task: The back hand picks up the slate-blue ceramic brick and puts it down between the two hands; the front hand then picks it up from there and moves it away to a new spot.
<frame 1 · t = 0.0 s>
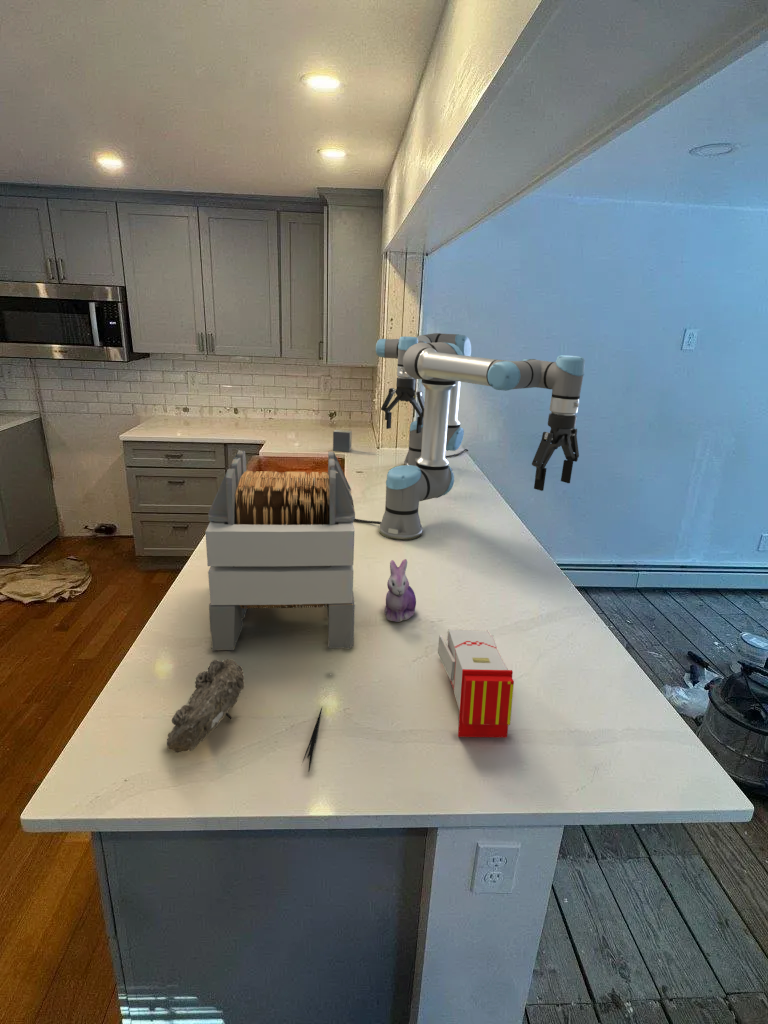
front hand: (552, 485, 166), 28 cm above the counter, tool pointing down, fingers open, 13 cm apart
back hand: (403, 430, 231), 28 cm above the counter, tool pointing down, fingers open, 13 cm apart
fossil: (212, 717, 108), on the counter
brick: (342, 450, 312), on the counter
feather: (319, 719, 109), on the counter
toy: (469, 691, 119), on the counter
record crate: (286, 614, 145), on the counter
figurine: (399, 614, 147), on the counter
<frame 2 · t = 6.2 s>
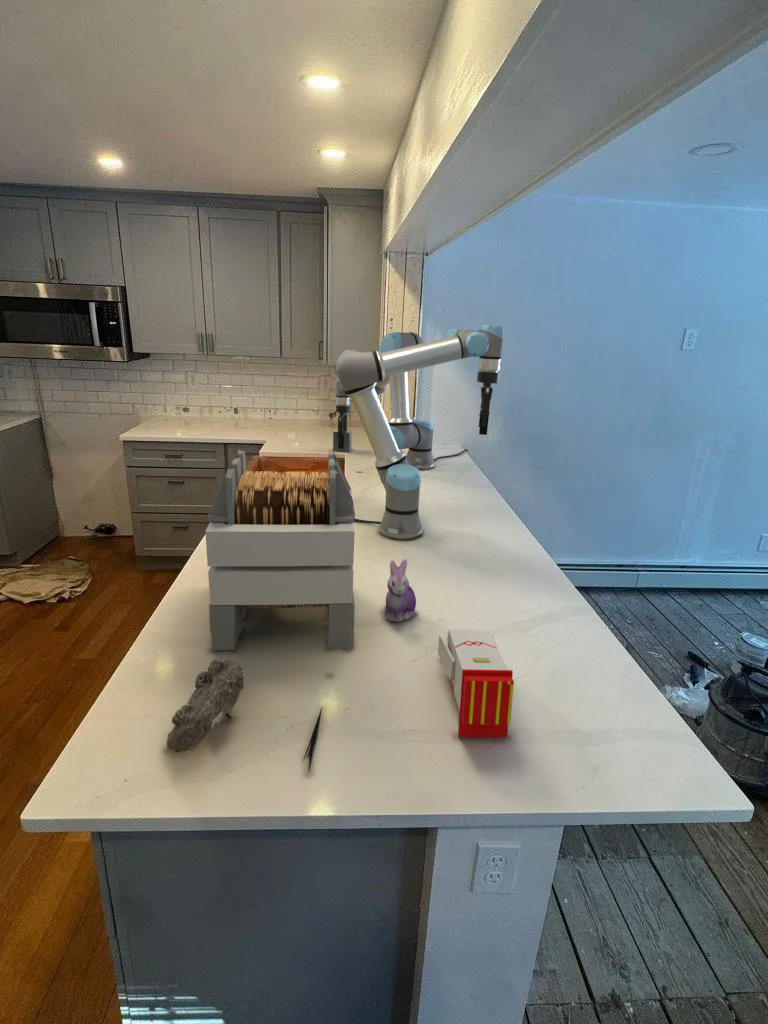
front hand: (482, 430, 206), 34 cm above the counter, tool pointing down, fingers open, 13 cm apart
back hand: (342, 447, 311), 2 cm above the counter, tool pointing down, fingers closed on brick, 5 cm apart
brick: (342, 450, 312), on the counter, touching back hand
everything else where it was.
when the back hand's fingers open (3 cm above the counter, at t = 14.2 s): brick drops 1 cm, on the counter.
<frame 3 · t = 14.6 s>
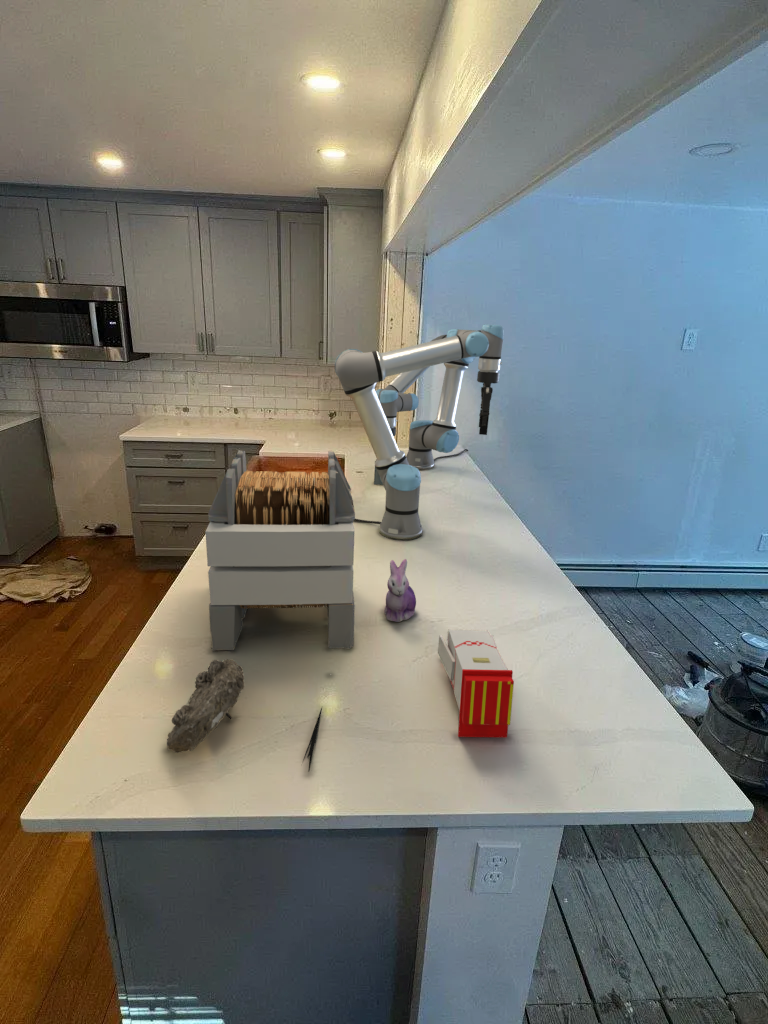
front hand: (482, 430, 206), 34 cm above the counter, tool pointing down, fingers open, 13 cm apart
back hand: (385, 474, 255), 4 cm above the counter, tool pointing down, fingers open, 11 cm apart
brick: (384, 483, 256), on the counter
everything else where it was.
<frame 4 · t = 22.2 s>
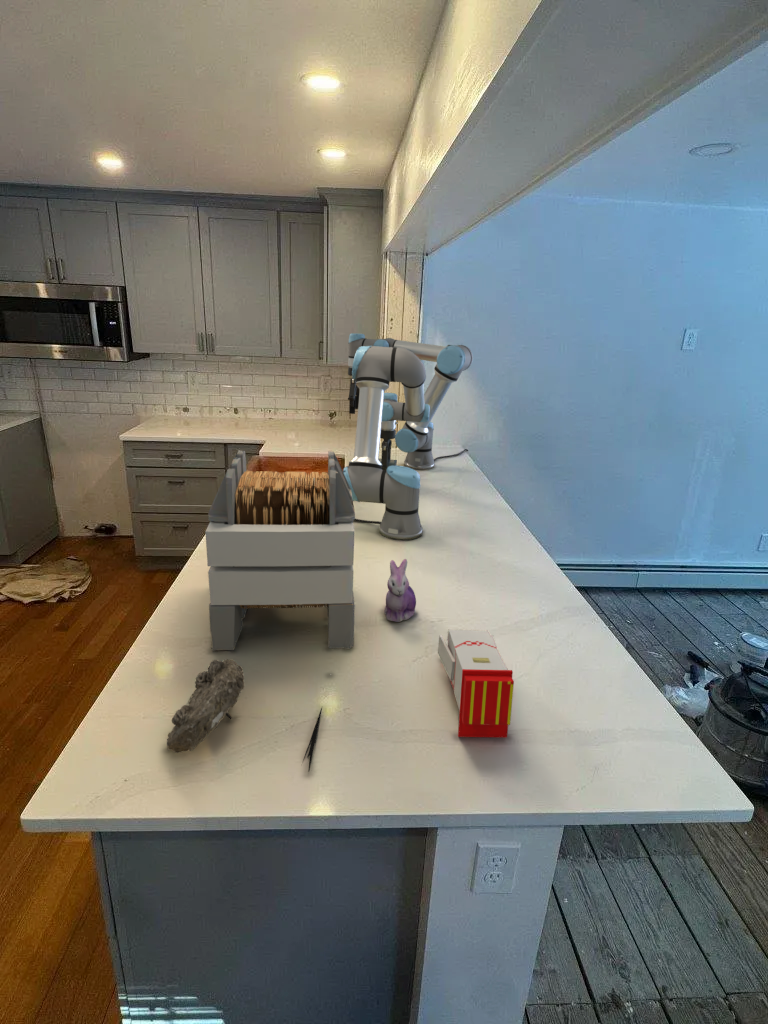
front hand: (385, 479, 256), 2 cm above the counter, tool pointing down, fingers closed on brick, 5 cm apart
back hand: (354, 411, 280), 26 cm above the counter, tool pointing down, fingers open, 13 cm apart
brick: (384, 483, 256), on the counter, touching front hand
everything else where it was.
when the front hand's fingers open (3 cm above the counter, at t = 30.9 s): brick drops 1 cm, on the counter.
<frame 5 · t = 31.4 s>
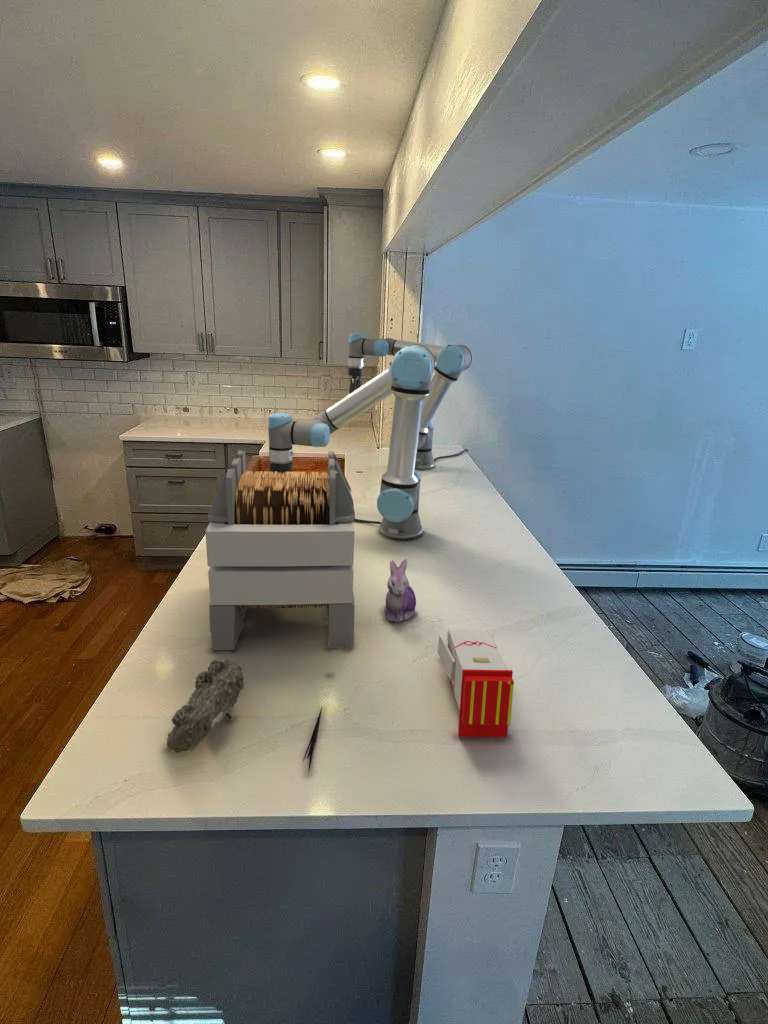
front hand: (282, 522, 193), 5 cm above the counter, tool pointing down, fingers open, 12 cm apart
back hand: (354, 411, 280), 26 cm above the counter, tool pointing down, fingers open, 13 cm apart
brick: (282, 534, 195), on the counter
everything else where it was.
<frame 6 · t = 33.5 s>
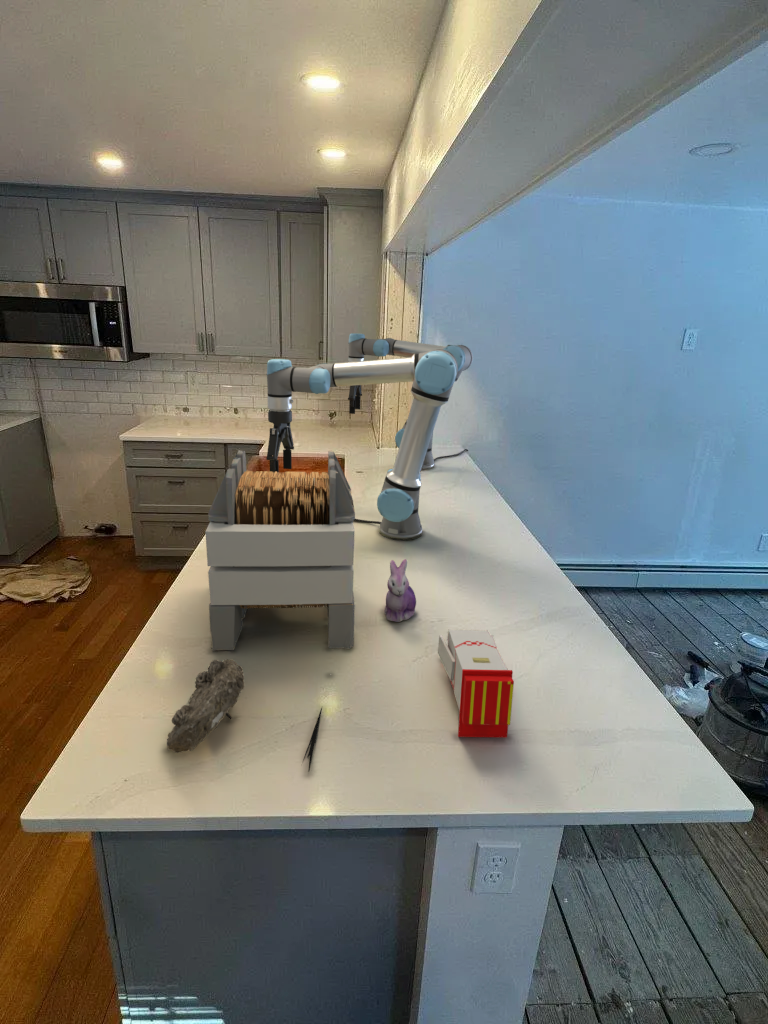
front hand: (281, 474, 187), 22 cm above the counter, tool pointing down, fingers open, 13 cm apart
back hand: (354, 411, 280), 26 cm above the counter, tool pointing down, fingers open, 13 cm apart
nothing on the counter moved.
at the end: brick inside the target area (0.0 cm from its centre), on the counter; brick tilted 0°; the two hands never held the brick at the same time; the front hand is holding nothing; the back hand is holding nothing; brick at rest at the end (0.0 cm/s) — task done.
